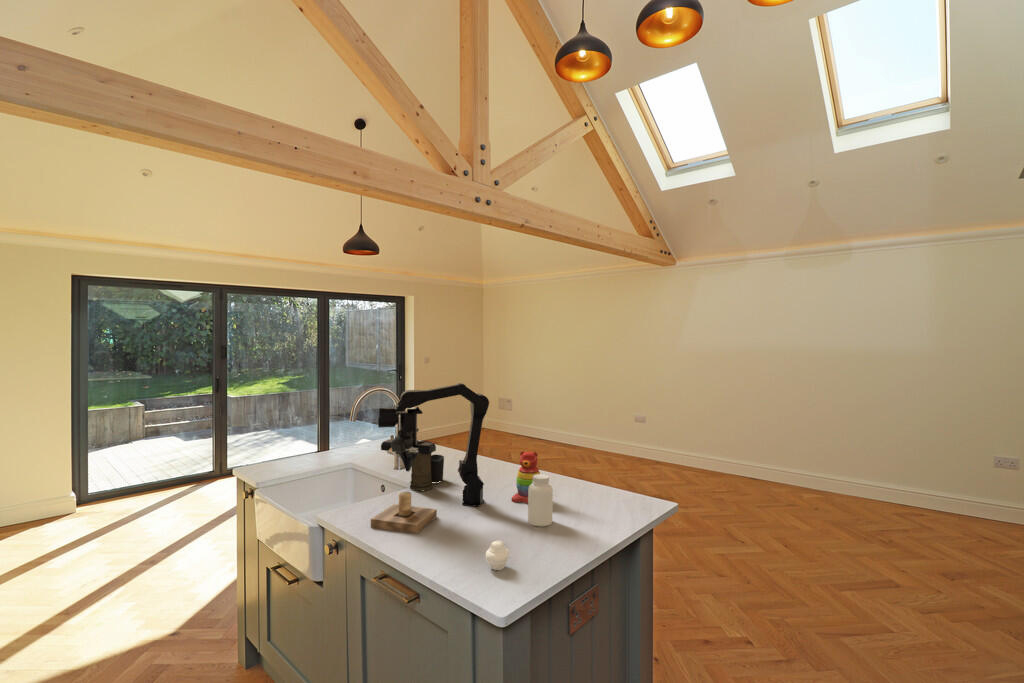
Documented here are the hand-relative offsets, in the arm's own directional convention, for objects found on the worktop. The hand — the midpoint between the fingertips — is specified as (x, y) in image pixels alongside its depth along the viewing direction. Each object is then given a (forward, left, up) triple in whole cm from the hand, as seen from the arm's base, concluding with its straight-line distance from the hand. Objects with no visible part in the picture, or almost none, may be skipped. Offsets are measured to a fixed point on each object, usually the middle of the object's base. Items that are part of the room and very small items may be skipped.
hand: (407, 471), depth 161 cm
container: (+6, -22, -13) cm, 26 cm away
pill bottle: (-47, -2, -13) cm, 49 cm away
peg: (-5, +11, -13) cm, 18 cm away
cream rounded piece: (-43, +31, -13) cm, 55 cm away
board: (-5, +11, -13) cm, 18 cm away
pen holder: (+6, -32, -13) cm, 35 cm away
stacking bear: (-38, -22, -13) cm, 46 cm away
